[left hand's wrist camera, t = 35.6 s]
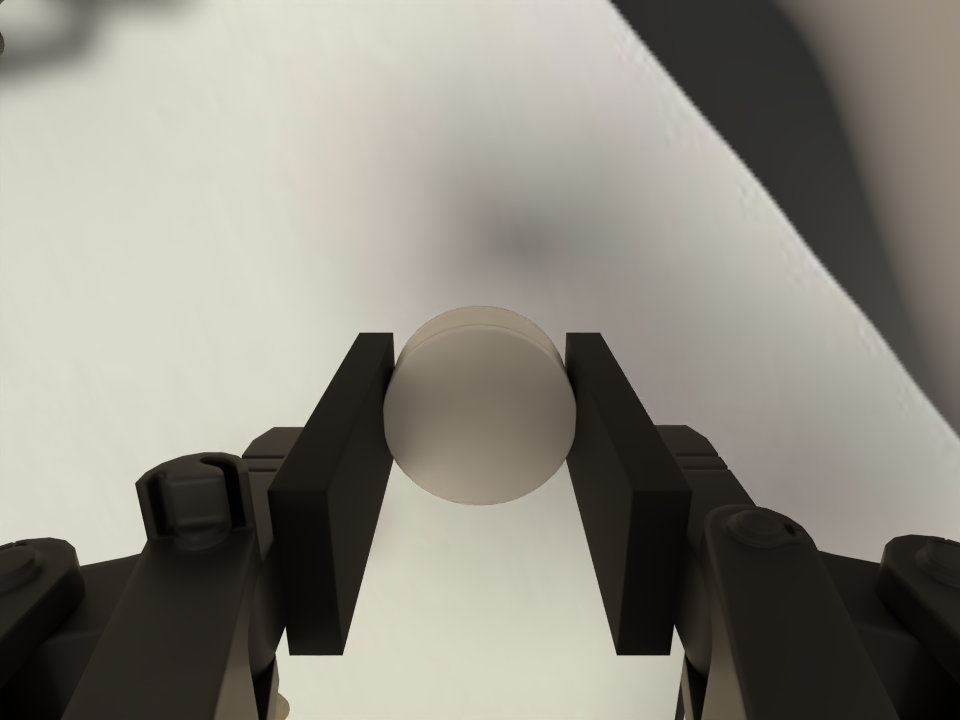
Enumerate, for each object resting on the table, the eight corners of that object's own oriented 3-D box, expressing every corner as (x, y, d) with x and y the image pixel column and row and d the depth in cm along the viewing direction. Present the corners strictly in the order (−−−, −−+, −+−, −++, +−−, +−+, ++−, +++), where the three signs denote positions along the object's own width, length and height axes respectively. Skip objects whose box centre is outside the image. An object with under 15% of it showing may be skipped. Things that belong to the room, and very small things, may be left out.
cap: (357, 387, 14) (341, 421, 13) (480, 267, 13) (481, 286, 12) (478, 494, 15) (478, 538, 14) (602, 389, 14) (618, 423, 13)
